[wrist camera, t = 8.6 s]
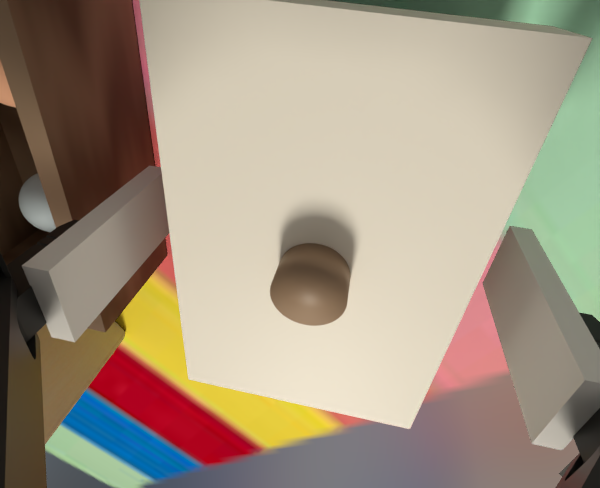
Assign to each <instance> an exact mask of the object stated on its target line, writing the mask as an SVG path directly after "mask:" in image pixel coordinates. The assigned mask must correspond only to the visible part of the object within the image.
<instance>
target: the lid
mask: <svg viewBox="0 0 600 488" xmlns="http://www.w3.org/2000/svg"><path fill="white" fill-rule="evenodd" d="M139 2H140V9H141V17H142V25H143V33H144V40H145V48H146V56H147V63H148V71H149V79H150V86H151V94H152V102H153V110H154V117H155V125H156V133H157V140H158V148H159V156H160V164H161V171H162V179H163V187H164V194H165V202H166V210H167V217H168V225H169V233H170V241H171V248H172V256H173V264H174V271H175V279H176V287H177V295H178V302H179V310H180V318H181V325H182V333H183V341H184V348H185V356H186V364H187V372H188V379H189V380H194V381H198V382H202V383H207V384H211V385H216V386H220V387H225V388H229V389H234V390H238V391H242V392H247V393H251V394H256V395H260V396H265V397H269V398H274V399H278V400H282V401H287V402H291V403H296V404H300V405H305V406H309V407H314V408H318V409H322V410H327V411H331V412H336V413H340V414H345V415H349V416H354V417H358V418H362V419H367V420H371V421H376V422H380V423H385V424H389V425H394V426H398V427H402V428H408V429H410V428H411V425H412V423H413V421H414V419H415V417H416V414H417V413H418V411H419V408H420V406H421V404H422V402H423V400H424V398H425V396H426V393H427V391H428V389H429V387H430V385H431V383H432V381H433V378H434V376H435V374H436V372H437V370H438V368H439V366H440V363H441V361H442V359H443V357H444V355H445V353H446V351H447V348H448V346H449V344H450V342H451V340H452V338H453V336H454V333H455V331H456V329H457V327H458V325H459V323H460V321H461V319H462V316H463V314H464V312H465V310H466V308H467V306H468V304H469V301H470V299H471V297H472V295H473V293H474V291H475V289H476V286H477V284H478V282H479V280H480V278H481V276H482V274H483V271H484V269H485V267H486V265H487V263H488V261H489V259H490V256H491V254H492V252H493V250H494V248H495V246H496V244H497V242H498V239H499V237H500V235H501V233H502V231H503V229H504V227H505V224H506V222H507V220H508V218H509V216H510V214H511V212H512V209H513V207H514V205H515V203H516V201H517V199H518V197H519V194H520V192H521V190H522V188H523V186H524V184H525V182H526V179H527V177H528V175H529V173H530V171H531V169H532V167H533V164H534V162H535V160H536V158H537V156H538V154H539V152H540V150H541V147H542V145H543V143H544V141H545V139H546V137H547V135H548V132H549V130H550V128H551V126H552V124H553V122H554V120H555V117H556V115H557V113H558V111H559V109H560V107H561V105H562V102H563V100H564V98H565V96H566V94H567V92H568V90H569V87H570V85H571V83H572V81H573V79H574V77H575V75H576V73H577V70H578V68H579V66H580V64H581V62H582V60H583V58H584V55H585V53H586V51H587V49H588V47H589V45H590V43H591V40H592V38H590V37H587V36H583V35H580V34H577V33H573V32H570V31H567V30H563V29H560V28H557V27H553V26H546V25H537V24H528V23H520V22H511V21H502V20H494V19H485V18H476V17H468V16H459V15H450V14H441V13H433V12H424V11H415V10H407V9H398V8H389V7H381V6H372V5H363V4H355V3H346V2H337V1H328V0H139Z"/></svg>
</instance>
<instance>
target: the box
mask: <svg viewBox="0 0 600 488" xmlns="http://www.w3.org/2000/svg"><path fill="white" fill-rule="evenodd" d="M0 60H1V63H2V66H3V69H4V72H5V75H6V78H7V82H8V85H9V88H10V91H11V94H12V97H13V100H14V103H15V106H16V107H12V106H7V105H5V104H2V103H0V252H1V254H2V257H3V259H4V261H5V263H6V265H8V264H9V263H10V262H12V261H13V260H14V259H16V258H17V257H18V256H20V255H21V254H22V253H24V252H25V251H26V250H28V249H29V248H30V247H32V246H33V245H34V244H36V245H37V242H38V241H40V240H41V239H42V238H44V237H47V235H48V234H49V233H50V232H46V231H43V230H41V229H38V228H36V227H35V226H33V225H32V224H31V223H29V222H28V221H27V220H26V218H25V217H24V216H23V214H22V212H21V210H20V207H19V193H20V190H21V187H22V186H23V184H24V183H25V182H26V181H27V180H28V179H29V178H30V177H31V176H33V175H35V174H37V173H38V175H39V178H40V181H41V184H42V187H43V190H44V193H45V196H46V199H47V202H48V205H49V208H50V211H51V214H52V217H53V221H54V224H55V227H56V228H57V227H58V226H60V225H63V224H65V223H67V222H70V221H72V220H81V219H82V218H83V217H84V216H86V215H87V214H88V213H90V212H91V211H92V210H93V209H95V208H96V207H97V206H98V205H100V204H101V203H102V202H104V201H105V200H106V199H107V198H109V197H110V196H111V195H112V194H114V193H115V192H116V191H118V190H119V189H120V188H121V187H123V186H124V185H125V184H126V183H128V182H129V181H130V180H132V179H133V178H134V177H135V176H137V175H138V174H139V173H141V172H142V171H143V170H144V169H146V168H147V167H148V166H155V164H154V157H153V149H152V142H151V135H150V128H149V121H148V114H147V106H146V99H145V92H144V85H143V78H142V71H141V63H140V56H139V49H138V42H137V35H136V27H135V20H134V13H133V6H132V0H0ZM166 256H167V250H166V243H165V238H164V240H163V241H162V242H161V243H160V244H159V245H158V247H157V248H156V249H155V250H154V251H153V252H152V254H151V255H150V256H149V257H148V258H147V259H146V260H145V262H144V263H143V264H142V265H141V266H140V267H139V269H138V270H137V271H136V272H135V273H134V274H133V276H132V277H131V278H130V279H129V280H128V281H127V283H126V284H125V285H124V286H123V287H122V288H121V290H120V291H119V292H118V293H117V294H116V295H115V297H114V298H113V299H112V300H111V301H110V302H109V303H108V305H107V306H106V307H105V308H104V309H103V310H102V312H101V313H100V314H99V315H98V316H97V317H96V319H95V320H94V321H93V322H92V323H91V324H90V326H89V327H88V329H92V330H97V331H102V332H106V331H107V330H108V329H109V328H110V326H111V325H112V324H113V323H114V321H115V320H116V319H117V318H118V316H119V315H120V314H121V313H122V311H123V310H124V309H125V308H126V306H127V305H128V304H129V303H130V301H131V300H132V299H133V298H134V296H135V295H136V294H137V293H138V291H139V290H140V289H141V288H142V286H143V285H144V284H145V283H146V281H147V280H148V279H149V278H150V276H151V275H152V274H153V273H154V271H155V270H156V269H157V267H158V266H159V265H160V264H161V262H162V261H163V260H164V259H165V257H166Z"/></svg>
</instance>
